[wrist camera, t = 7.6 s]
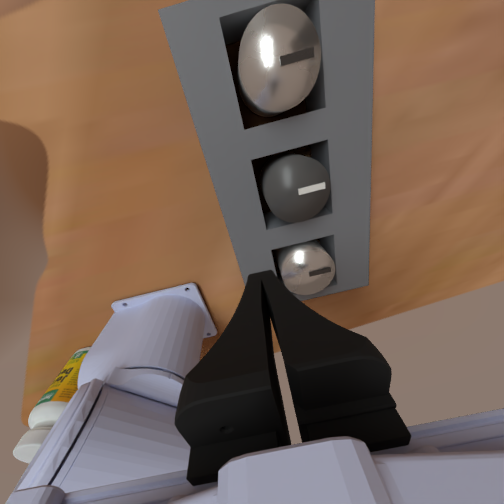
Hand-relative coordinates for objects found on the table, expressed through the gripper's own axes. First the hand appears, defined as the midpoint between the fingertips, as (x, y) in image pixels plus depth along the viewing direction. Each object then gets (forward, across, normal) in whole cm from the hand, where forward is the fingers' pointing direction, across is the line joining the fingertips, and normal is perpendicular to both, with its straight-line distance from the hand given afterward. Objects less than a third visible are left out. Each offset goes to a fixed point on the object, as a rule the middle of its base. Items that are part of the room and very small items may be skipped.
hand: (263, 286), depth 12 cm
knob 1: (+9, -4, -10) cm, 14 cm away
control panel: (+10, -4, -3) cm, 11 cm away
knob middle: (+9, -4, -3) cm, 11 cm away
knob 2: (+9, -4, +4) cm, 11 cm away
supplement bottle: (+10, +23, +13) cm, 28 cm away
